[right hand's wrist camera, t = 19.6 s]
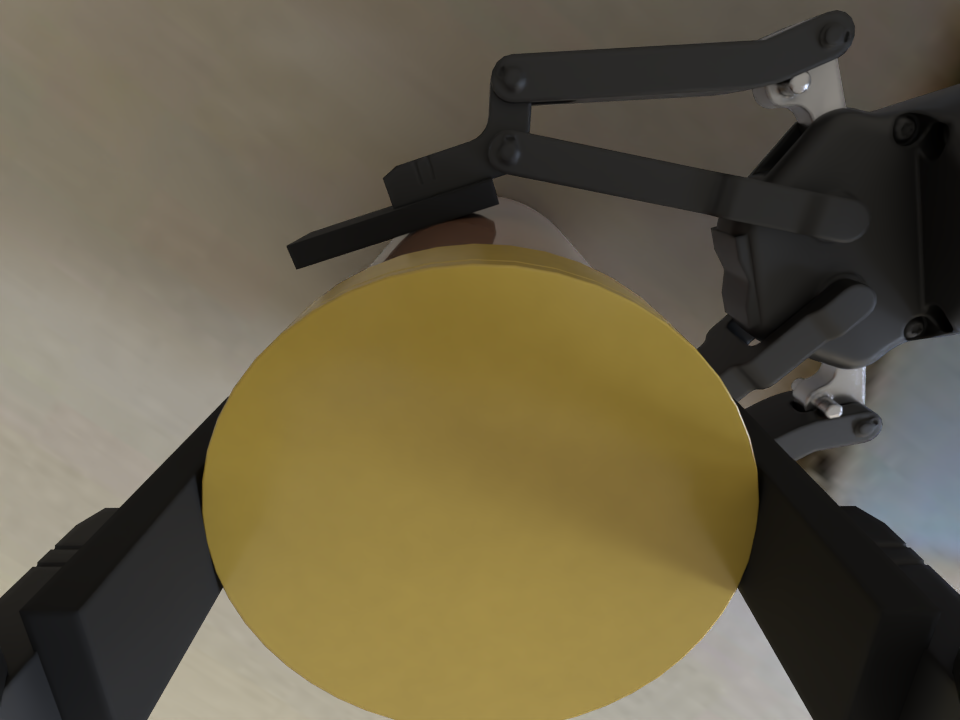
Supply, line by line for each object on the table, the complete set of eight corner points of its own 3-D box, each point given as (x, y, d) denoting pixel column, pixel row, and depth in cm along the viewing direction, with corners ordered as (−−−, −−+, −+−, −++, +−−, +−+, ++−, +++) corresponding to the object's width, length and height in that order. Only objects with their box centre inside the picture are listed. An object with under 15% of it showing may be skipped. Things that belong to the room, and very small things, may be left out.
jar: (438, 150, 24) (370, 171, 9) (625, 264, 25) (824, 436, 11) (341, 338, 27) (170, 583, 12) (515, 429, 28) (552, 741, 14)
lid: (249, 641, 14) (216, 713, 12) (229, 214, 10) (178, 229, 9) (661, 673, 14) (686, 747, 13) (779, 274, 11) (838, 300, 9)
